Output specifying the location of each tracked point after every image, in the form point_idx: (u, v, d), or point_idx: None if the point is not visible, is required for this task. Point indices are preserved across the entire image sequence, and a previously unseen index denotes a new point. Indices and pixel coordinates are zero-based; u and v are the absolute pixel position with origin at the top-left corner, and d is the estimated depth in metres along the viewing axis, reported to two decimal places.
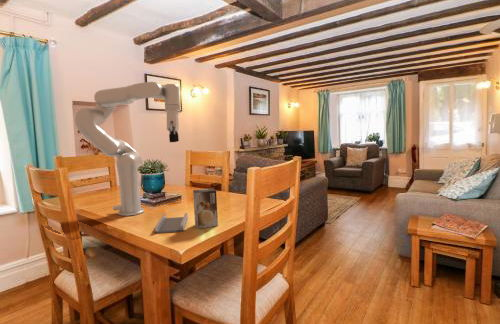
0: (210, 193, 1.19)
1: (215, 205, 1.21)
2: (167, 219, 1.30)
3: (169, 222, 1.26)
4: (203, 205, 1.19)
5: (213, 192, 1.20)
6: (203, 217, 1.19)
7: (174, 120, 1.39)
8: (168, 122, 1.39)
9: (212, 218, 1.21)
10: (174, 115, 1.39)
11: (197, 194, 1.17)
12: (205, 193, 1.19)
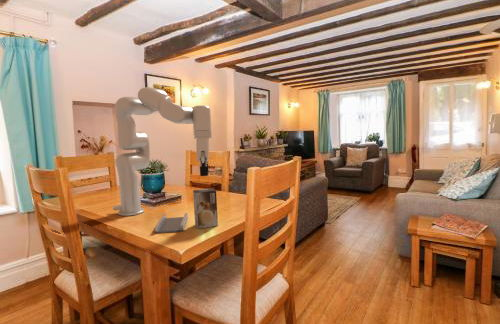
0: (210, 193, 1.19)
1: (215, 205, 1.21)
2: (167, 219, 1.30)
3: (169, 222, 1.26)
4: (203, 205, 1.19)
5: (213, 192, 1.20)
6: (203, 217, 1.19)
7: (206, 149, 1.15)
8: (199, 152, 1.15)
9: (212, 218, 1.21)
10: (206, 143, 1.15)
11: (197, 194, 1.17)
12: (205, 193, 1.19)
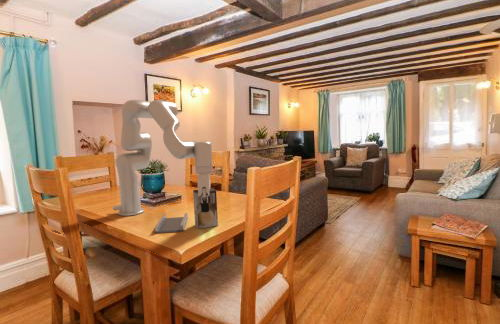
0: (210, 193, 1.19)
1: (215, 205, 1.21)
2: (167, 219, 1.30)
3: (169, 222, 1.26)
4: None
5: (213, 192, 1.20)
6: (203, 217, 1.19)
7: (207, 186, 1.17)
8: (200, 188, 1.16)
9: (212, 218, 1.21)
10: (207, 179, 1.17)
11: (197, 194, 1.17)
12: None
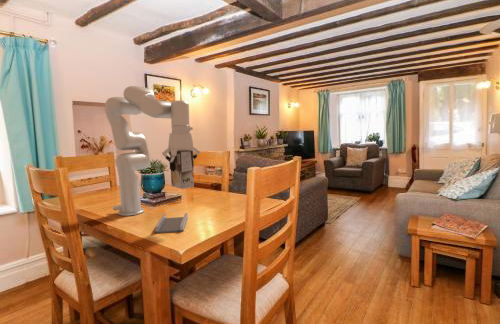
0: (177, 153, 1.17)
1: (180, 167, 1.17)
2: (167, 219, 1.30)
3: (169, 222, 1.26)
4: None
5: (179, 153, 1.16)
6: (173, 176, 1.21)
7: (170, 144, 1.17)
8: (168, 146, 1.19)
9: (178, 179, 1.18)
10: (171, 138, 1.16)
11: None
12: None
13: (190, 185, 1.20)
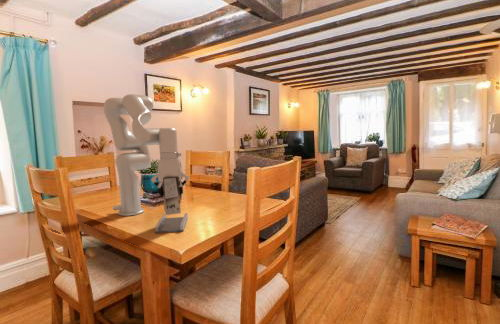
0: (163, 180, 1.19)
1: (164, 193, 1.18)
2: (167, 219, 1.30)
3: (169, 222, 1.26)
4: None
5: (163, 179, 1.18)
6: None
7: None
8: None
9: (165, 205, 1.20)
10: (158, 165, 1.20)
11: None
12: None
13: (175, 211, 1.20)
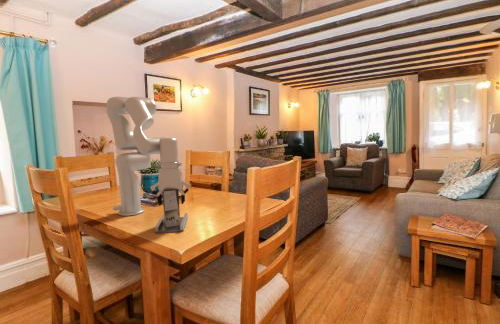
0: (163, 192, 1.20)
1: (164, 205, 1.19)
2: None
3: None
4: None
5: (163, 192, 1.19)
6: None
7: (158, 181, 1.20)
8: None
9: (164, 217, 1.21)
10: None
11: None
12: None
13: (175, 224, 1.21)
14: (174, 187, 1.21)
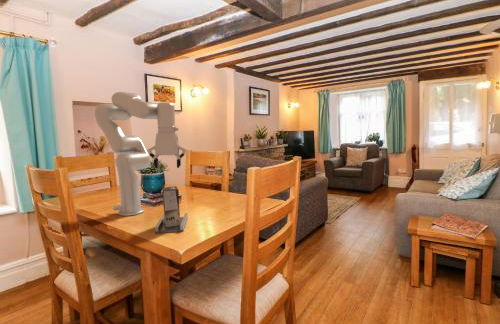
0: (163, 192, 1.20)
1: (164, 205, 1.19)
2: None
3: None
4: None
5: (163, 192, 1.19)
6: None
7: (155, 144, 1.24)
8: None
9: (164, 217, 1.21)
10: None
11: None
12: None
13: (175, 224, 1.21)
14: (170, 151, 1.25)
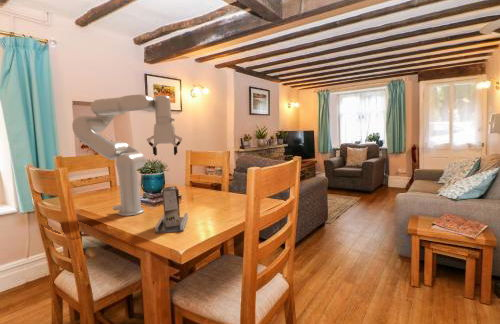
0: (163, 192, 1.20)
1: (164, 205, 1.19)
2: None
3: None
4: None
5: (163, 192, 1.19)
6: None
7: None
8: None
9: (164, 217, 1.21)
10: (154, 128, 1.37)
11: (162, 189, 1.25)
12: None
13: (175, 224, 1.21)
14: (167, 139, 1.38)
